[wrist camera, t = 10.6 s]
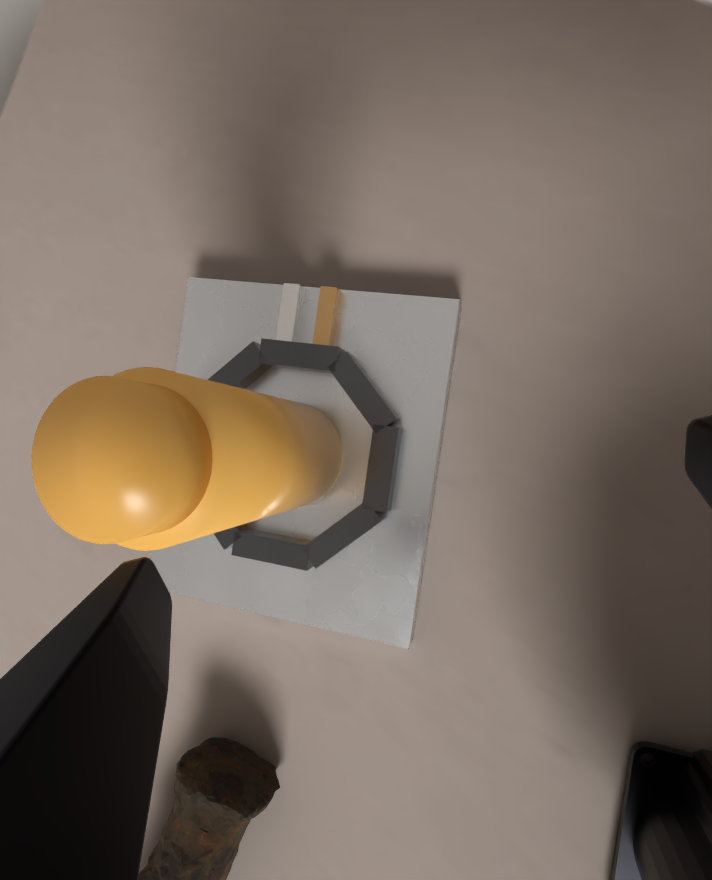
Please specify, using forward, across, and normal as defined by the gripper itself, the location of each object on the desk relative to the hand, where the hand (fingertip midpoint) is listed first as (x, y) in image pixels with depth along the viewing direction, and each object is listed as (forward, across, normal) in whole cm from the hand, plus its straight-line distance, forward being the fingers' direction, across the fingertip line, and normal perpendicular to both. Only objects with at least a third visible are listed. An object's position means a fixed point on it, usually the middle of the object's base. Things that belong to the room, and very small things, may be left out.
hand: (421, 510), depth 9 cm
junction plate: (+14, +3, +6) cm, 16 cm away
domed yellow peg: (+13, +4, +6) cm, 15 cm away
